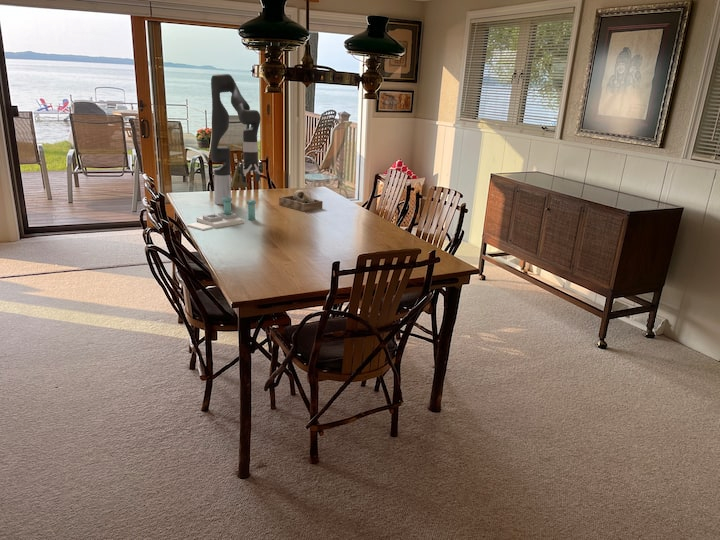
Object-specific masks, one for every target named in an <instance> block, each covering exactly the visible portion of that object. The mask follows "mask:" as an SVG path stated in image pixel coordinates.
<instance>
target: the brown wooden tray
mask: <svg viewBox="0 0 720 540" xmlns="http://www.w3.org/2000/svg"><path fill="white" fill-rule="evenodd" d="M278 200H279V201H278V203H279V206H282V207H283V206H284V207H286V208H289V207H290V209H294V210H296V209H297V211H301V212H305V213H306V212H310V211H311V212H312V211H317V210H323V200H319V199H315V198H313V200H314V202H312V203H306V204H305V203H301V202H297V201H294V199H293V194H291V195H287V196H281V197H278Z"/></svg>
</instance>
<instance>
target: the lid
mask: <svg viewBox="0 0 720 540" xmlns="http://www.w3.org/2000/svg"><path fill="white" fill-rule="evenodd" d="M186 226H187V227H189V228H193V229H196V230H200V231H206V230H212V229H214V227H212V226H208V225H206V224H203V223H200V222H197V221H196V222H192V223H187V224H186Z"/></svg>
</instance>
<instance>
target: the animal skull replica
mask: <svg viewBox="0 0 720 540" xmlns="http://www.w3.org/2000/svg"><path fill="white" fill-rule="evenodd" d="M292 195H293V199H294V201H297V202H301V203H305V204H306V203H312V202H314V200H313V199H314V198H313V197H312V195H311V193H309V191H308V190H304V189H298V190H296V191H294V193H293V194H292Z"/></svg>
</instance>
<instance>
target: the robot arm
mask: <svg viewBox="0 0 720 540" xmlns="http://www.w3.org/2000/svg"><path fill="white" fill-rule="evenodd" d="M210 89H211V105H212V106H211V142H210V143H211V146H210V159H211V162H212V163H214V164H215V163H218V164H219V163H223V165H221V166H219V167H216V168H215V169H214V170H213V175H214V176H213V177H214V187H213V191H214V192H213V193H214V196H213V197H214V203H215V204H216V205H222V206H224V201H222V198H224V197H230V198H232V187H231V182H232V179H231V177H232V176H231V148H230V147H229V146H226V145H225V146H219V143H220V141H221V139H222V138H223V136H225V134H226V133H227V131H228V129H229V127H230V115H229V112H228V110H227V109H226V108H225V106H224V104H223V103H222V100H221V93H222V94H223V93H231V96H230V103H231V105H232V107H233V109H234V110H235V111H236V113H237V116H238V119H239V122H240V123H241V124H242V125H246V126H247V125H248V126H249V125H250V127H249V128H247V129H244V130H242V131H243V133H242V136H243V137H242V140H243V142H242V160H243V162H240V163H238V162H237V164H238V174H239V175H241V176H242V182H243V183H246V180H247V176H246V175H247V174H248V173H249V172H251V171H252V172H253V171H254V172H255V182H260V181H261V174H263V173H264V161H260V160H259V145H258V132H259V127H260V123H261V120H262V119H261V117H262V116H261V114H260V112H259V110H256V109H251V108H250V105H249V103H248V102H247V101H246V99H245V98H244V96H243V95H242V93H241V91H240V89H239V87H238V86H237V83H236V81H235V80H234V77H233V76H232V75H231V74H229V73H217V74H213V75H211V80H210Z"/></svg>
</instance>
